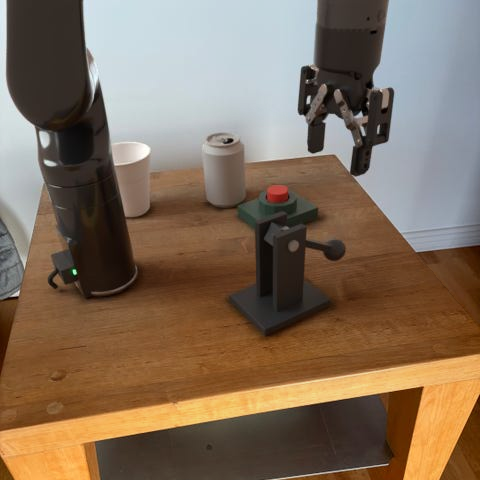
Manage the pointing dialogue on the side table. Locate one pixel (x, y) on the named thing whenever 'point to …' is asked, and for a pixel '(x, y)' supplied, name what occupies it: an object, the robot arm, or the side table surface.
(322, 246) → the switch lever
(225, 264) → the side table surface
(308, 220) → the button base block
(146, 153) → the cup
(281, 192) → the power button
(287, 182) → the side table surface
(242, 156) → the can
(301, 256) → the pivot lever stand
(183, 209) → the side table surface
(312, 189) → the side table surface
